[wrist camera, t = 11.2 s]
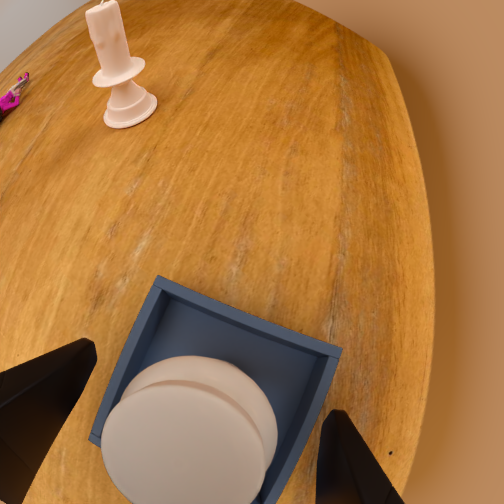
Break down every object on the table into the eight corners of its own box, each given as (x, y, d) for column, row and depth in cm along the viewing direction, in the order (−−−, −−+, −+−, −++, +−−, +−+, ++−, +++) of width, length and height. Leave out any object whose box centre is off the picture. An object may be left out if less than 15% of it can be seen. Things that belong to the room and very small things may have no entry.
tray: (263, 496, 12) (268, 516, 10) (107, 431, 13) (87, 440, 11) (327, 350, 16) (343, 348, 13) (168, 287, 17) (157, 274, 14)
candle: (169, 100, 23) (151, -14, 12) (128, 136, 21) (89, 14, 10) (131, 89, 24) (107, -10, 13) (93, 121, 22) (53, 18, 11)
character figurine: (17, 91, 27) (-25, 143, 21) (8, 66, 22) (-40, 116, 16) (42, 83, 27) (-3, 135, 21) (33, 56, 23) (-18, 105, 17)
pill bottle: (218, 464, 13) (201, 568, 3) (145, 405, 14) (42, 443, 5) (280, 398, 14) (343, 444, 5) (204, 338, 15) (161, 303, 6)
